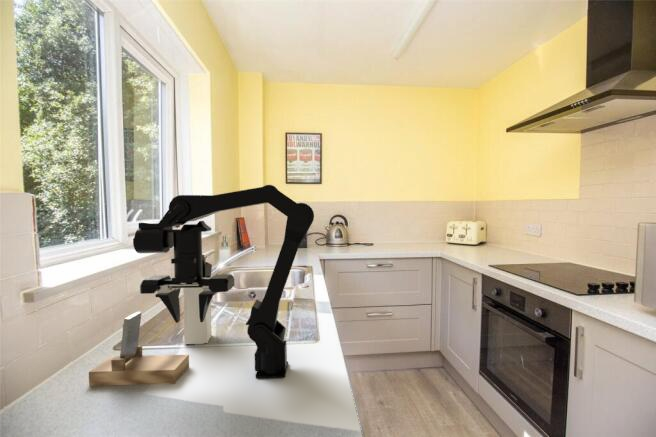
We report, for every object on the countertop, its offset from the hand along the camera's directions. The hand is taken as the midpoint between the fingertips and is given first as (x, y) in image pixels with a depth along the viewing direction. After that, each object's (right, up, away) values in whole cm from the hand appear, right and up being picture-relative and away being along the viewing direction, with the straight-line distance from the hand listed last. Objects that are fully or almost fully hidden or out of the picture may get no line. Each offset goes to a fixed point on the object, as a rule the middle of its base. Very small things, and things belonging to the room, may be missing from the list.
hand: (190, 321), depth 69 cm
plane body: (-11, -12, 0) cm, 16 cm away
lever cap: (-14, -9, 0) cm, 17 cm away
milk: (-6, -12, +19) cm, 23 cm away
